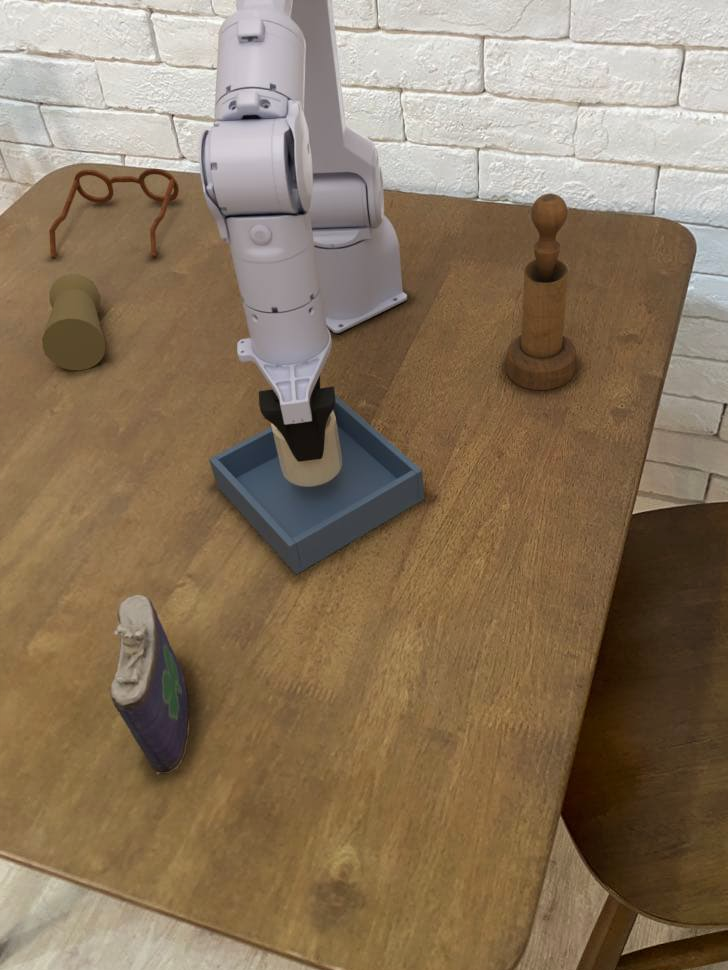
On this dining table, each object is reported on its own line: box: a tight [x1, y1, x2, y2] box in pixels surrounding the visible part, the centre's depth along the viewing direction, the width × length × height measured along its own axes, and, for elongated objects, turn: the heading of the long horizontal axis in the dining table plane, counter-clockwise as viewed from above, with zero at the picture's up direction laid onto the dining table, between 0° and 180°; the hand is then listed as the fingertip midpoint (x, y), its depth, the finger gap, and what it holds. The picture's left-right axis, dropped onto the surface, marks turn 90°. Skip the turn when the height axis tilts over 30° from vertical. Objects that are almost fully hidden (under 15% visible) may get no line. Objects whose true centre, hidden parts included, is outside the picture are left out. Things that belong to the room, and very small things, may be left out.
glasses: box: [49, 168, 180, 259], centre depth 113 cm, size 13×13×5 cm
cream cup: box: [270, 411, 342, 487], centre depth 78 cm, size 5×5×5 cm
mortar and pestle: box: [505, 193, 577, 391], centre depth 85 cm, size 7×6×18 cm
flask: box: [109, 594, 191, 776], centre depth 64 cm, size 9×3×11 cm, turn 8°
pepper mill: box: [41, 273, 106, 371], centre depth 98 cm, size 6×6×11 cm
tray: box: [208, 394, 425, 575], centre depth 81 cm, size 13×13×4 cm
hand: (307, 433), depth 77 cm, fingers closed on cream cup, 5 cm apart
